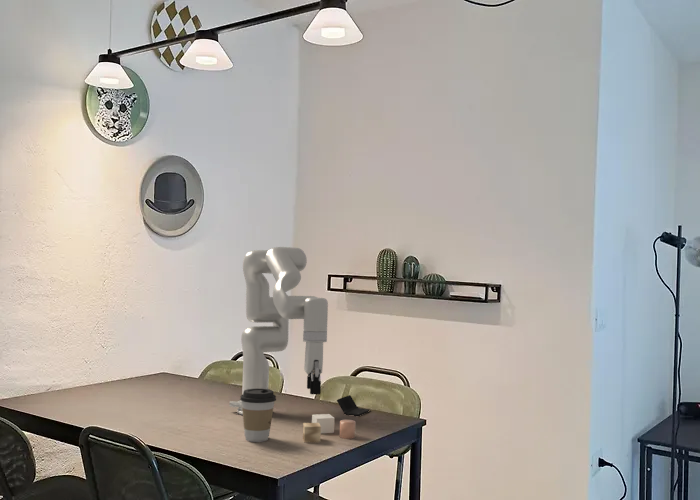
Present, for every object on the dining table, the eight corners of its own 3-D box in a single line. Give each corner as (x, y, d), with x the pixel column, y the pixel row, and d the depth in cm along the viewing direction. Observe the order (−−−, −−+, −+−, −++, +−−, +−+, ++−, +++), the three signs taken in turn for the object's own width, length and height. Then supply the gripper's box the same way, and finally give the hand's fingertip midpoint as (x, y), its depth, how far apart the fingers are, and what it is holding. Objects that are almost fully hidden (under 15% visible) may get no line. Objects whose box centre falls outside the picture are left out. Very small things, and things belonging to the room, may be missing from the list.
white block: (316, 434, 224) (317, 418, 224) (311, 429, 229) (312, 414, 229) (334, 433, 226) (334, 417, 226) (328, 428, 231) (329, 413, 231)
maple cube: (304, 442, 212) (304, 426, 212) (302, 438, 217) (303, 422, 217) (320, 442, 213) (320, 426, 213) (318, 438, 218) (319, 422, 218)
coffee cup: (276, 443, 210) (278, 394, 210) (239, 444, 207) (241, 394, 208) (273, 434, 221) (274, 387, 221) (237, 434, 218) (239, 387, 219)
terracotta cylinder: (340, 439, 218) (341, 423, 218) (338, 435, 223) (338, 419, 223) (356, 438, 219) (356, 423, 219) (353, 435, 223) (354, 419, 224)
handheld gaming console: (363, 413, 250) (349, 389, 253) (348, 423, 251) (334, 400, 254) (372, 411, 261) (358, 389, 264) (357, 422, 262) (343, 399, 265)
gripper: (300, 334, 223) (299, 386, 223) (305, 339, 206) (304, 396, 206) (323, 334, 225) (322, 386, 224) (330, 339, 207) (328, 396, 207)
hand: (313, 391), depth 215 cm, fingers open, 9 cm apart
